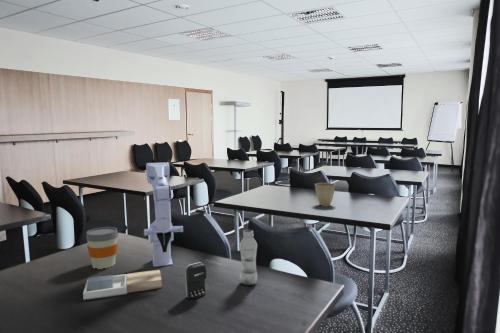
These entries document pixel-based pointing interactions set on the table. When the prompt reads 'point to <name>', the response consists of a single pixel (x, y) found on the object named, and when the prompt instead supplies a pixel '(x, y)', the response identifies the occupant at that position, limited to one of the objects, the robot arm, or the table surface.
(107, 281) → the blue-grey cube
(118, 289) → the box
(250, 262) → the plastic bottle
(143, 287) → the beige piece
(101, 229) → the reusable coffee cup
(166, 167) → the robot arm
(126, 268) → the table surface
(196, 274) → the battery charger
